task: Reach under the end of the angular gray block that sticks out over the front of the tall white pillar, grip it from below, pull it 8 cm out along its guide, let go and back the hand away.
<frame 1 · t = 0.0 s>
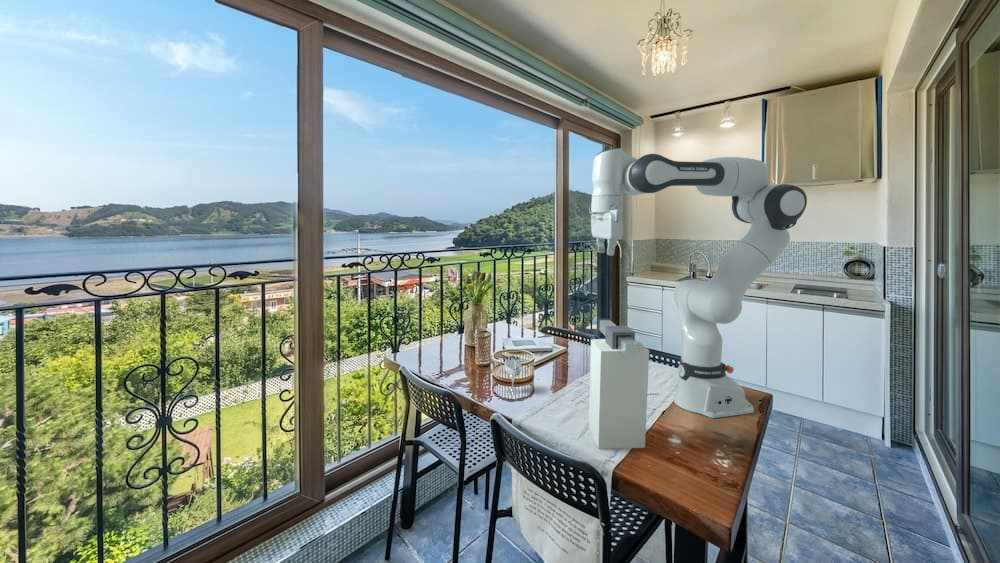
hand: (605, 254, 118), 48 cm above the table, tool pointing down, fingers open, 8 cm apart
angular gray block: (615, 335, 105), point 28 cm above the table, slide at 0.0 cm
wineglass: (512, 392, 136), on the table
tall white pillar: (615, 437, 106), on the table
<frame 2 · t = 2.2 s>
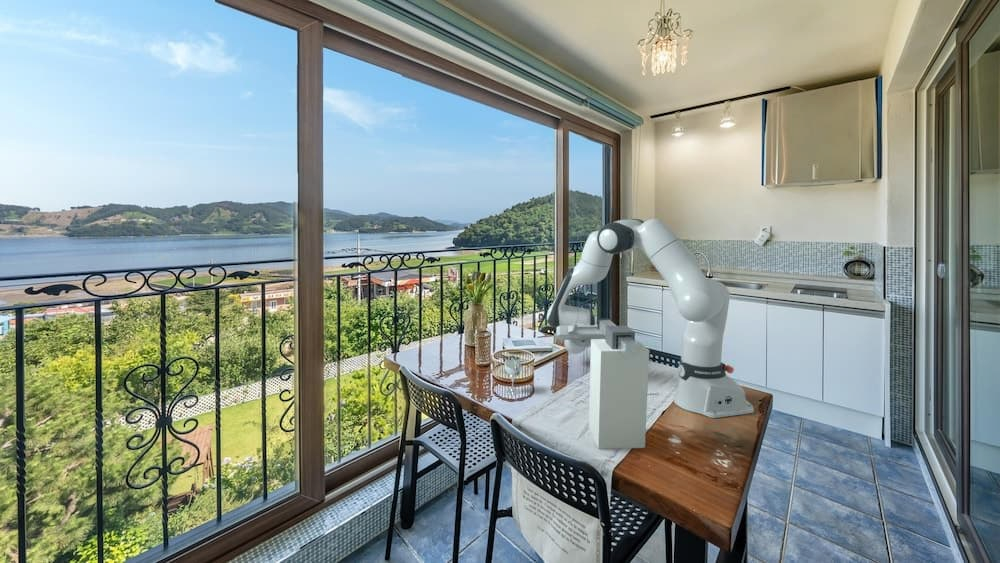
hand: (589, 326, 134), 22 cm above the table, tool pointing upward, fingers open, 8 cm apart
nothing on the table moved.
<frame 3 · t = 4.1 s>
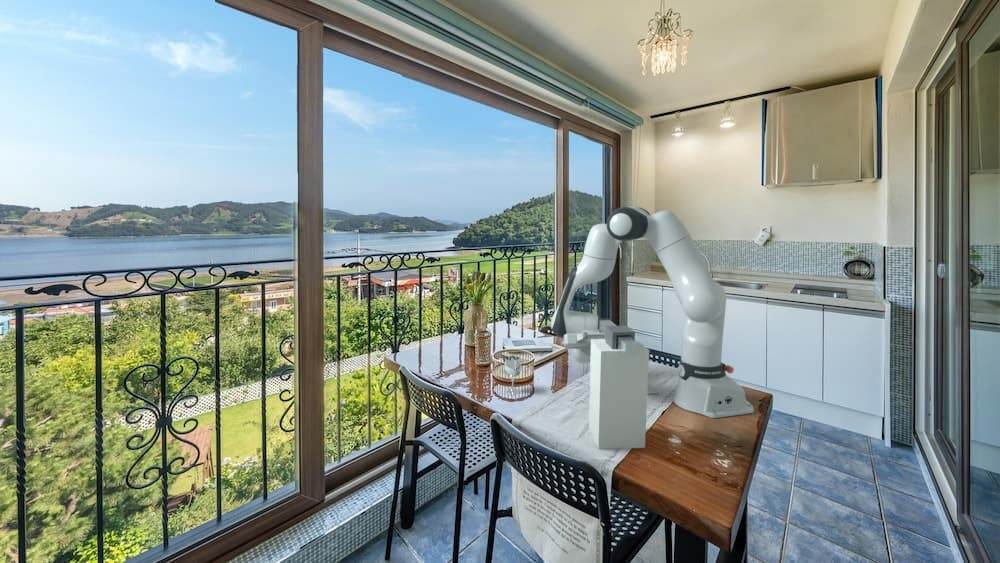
hand: (600, 334, 120), 24 cm above the table, tool pointing upward, fingers open, 8 cm apart
nothing on the table moved.
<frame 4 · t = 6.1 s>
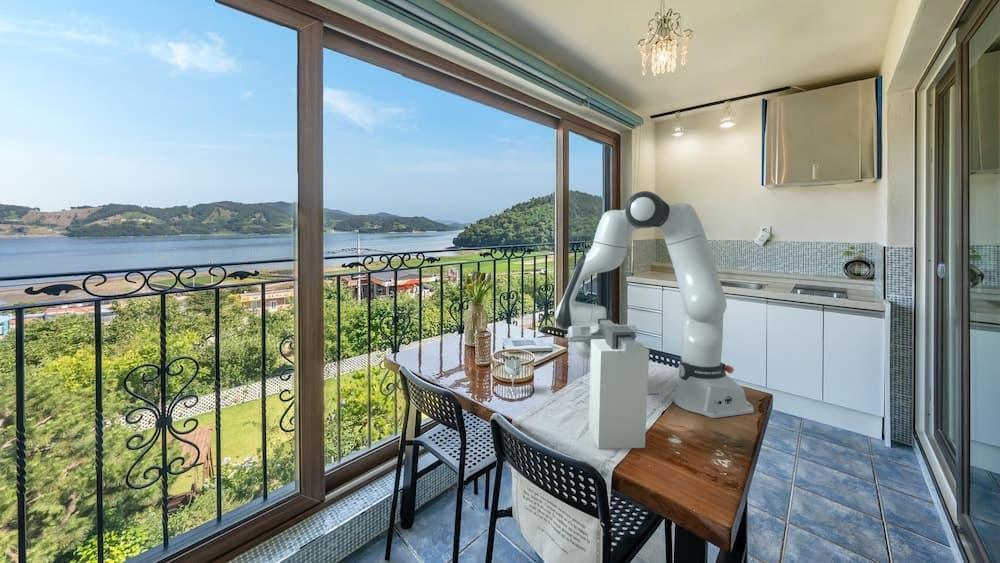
hand: (608, 326, 112), 28 cm above the table, tool pointing upward, fingers closed on angular gray block, 3 cm apart
angular gray block: (615, 335, 105), point 28 cm above the table, slide at 0.0 cm, touching gripper
everything else where it was.
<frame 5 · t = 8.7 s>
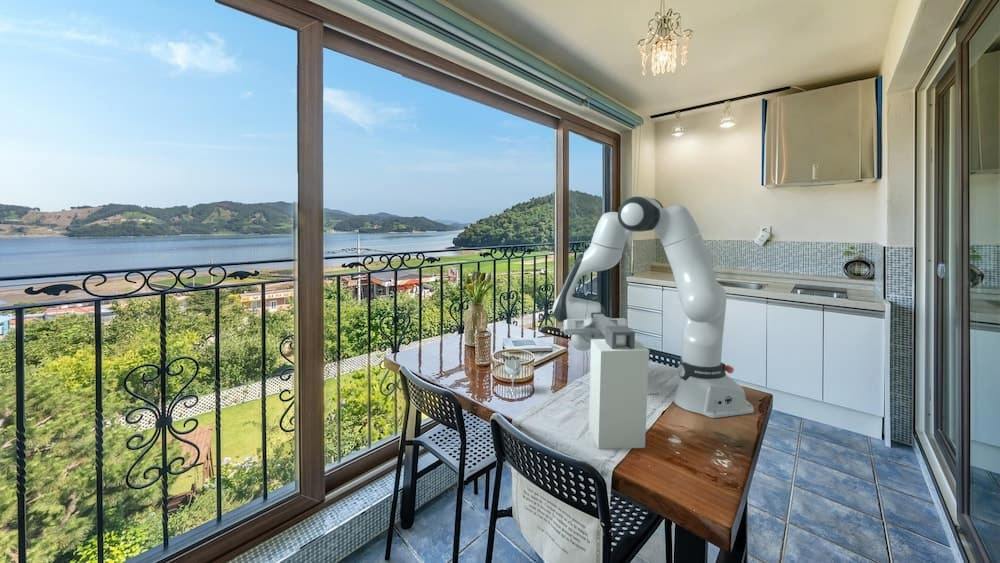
hand: (600, 319, 120), 28 cm above the table, tool pointing upward, fingers closed on angular gray block, 3 cm apart
angular gray block: (607, 327, 113), point 28 cm above the table, slide at 7.9 cm, touching gripper
everything else where it was.
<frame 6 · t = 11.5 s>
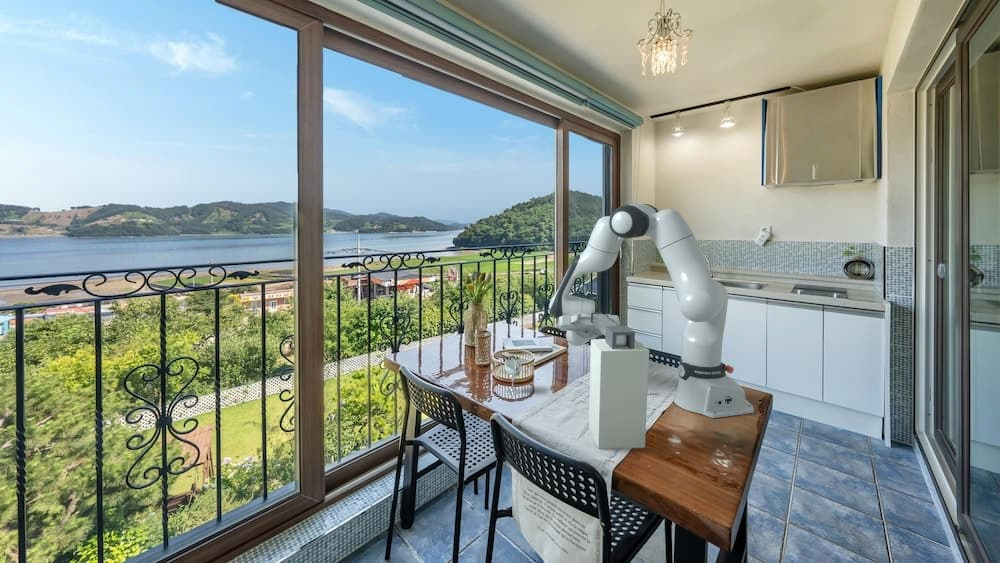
hand: (593, 316, 127), 27 cm above the table, tool pointing upward, fingers open, 8 cm apart
angular gray block: (607, 327, 113), point 28 cm above the table, slide at 8.0 cm
everything else where it was.
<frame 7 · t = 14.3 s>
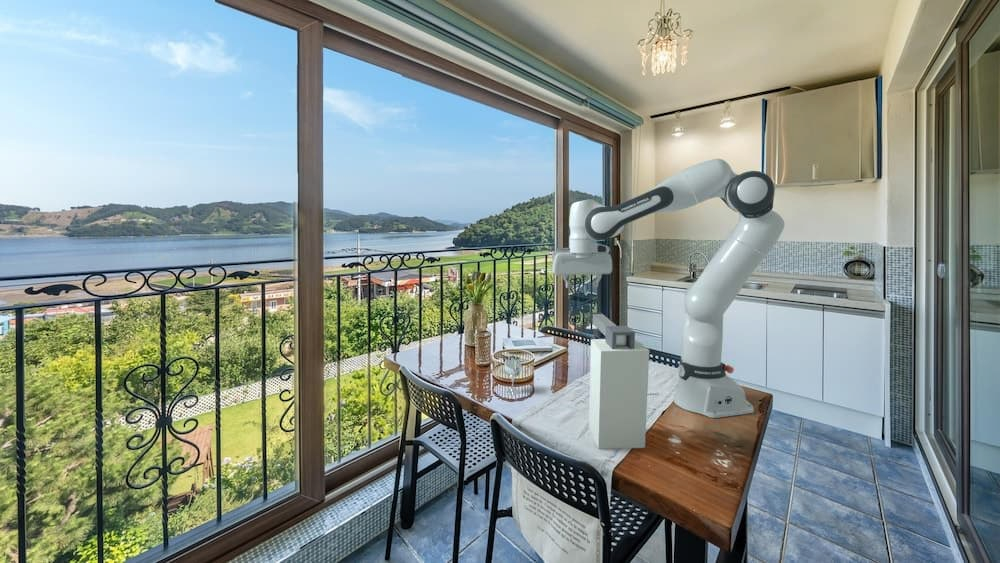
hand: (581, 287, 137), 35 cm above the table, tool pointing down, fingers open, 8 cm apart
nothing on the table moved.
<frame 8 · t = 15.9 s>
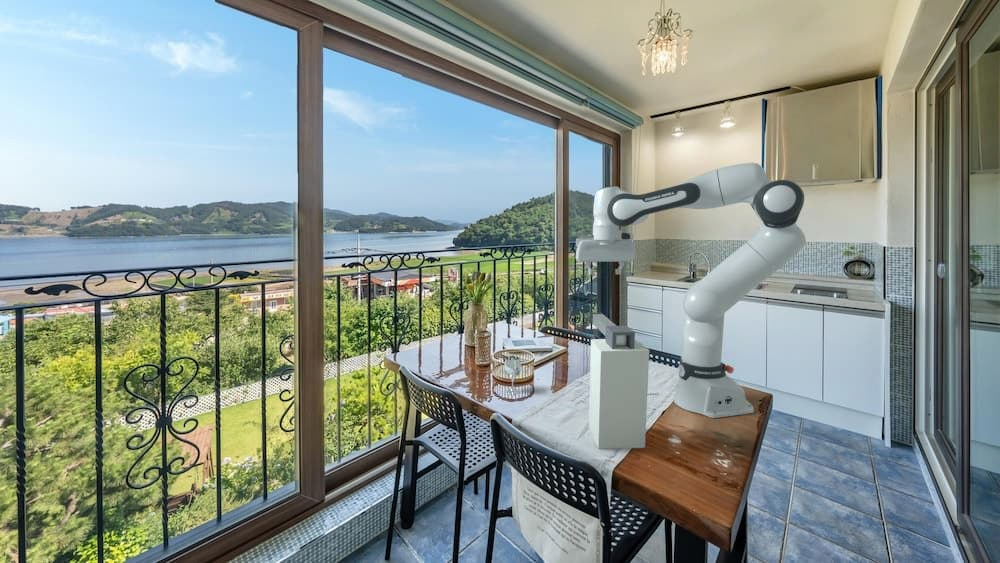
hand: (604, 274, 139), 39 cm above the table, tool pointing down, fingers open, 8 cm apart
nothing on the table moved.
at the end: angular gray block slide at 8.0 cm; the gripper is holding nothing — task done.
